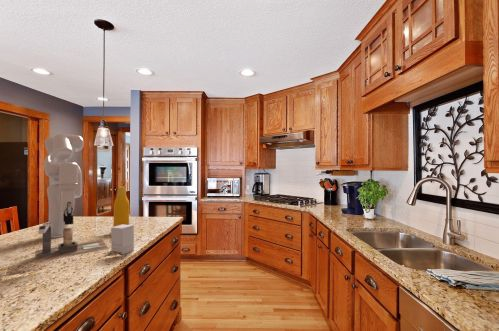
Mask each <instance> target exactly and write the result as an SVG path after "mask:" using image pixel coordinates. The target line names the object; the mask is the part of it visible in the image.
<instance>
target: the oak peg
mask: <svg viewBox="0 0 499 331" xmlns="http://www.w3.org/2000/svg"><path fill="white" fill-rule="evenodd" d="M73 230H74V228H73V227H72V226H68V227H66V228H63V237H62V239H63V240H62V241H63V242H62V243H63V246H69V245H72V242H73V233H74V232H73Z"/></svg>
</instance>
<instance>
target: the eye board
mask: <svg viewBox="0 0 499 331" xmlns="http://www.w3.org/2000/svg"><path fill="white" fill-rule="evenodd" d="M41 243H42V249H38V250H35V255H34V263H39V262H45V261H52V260H56V259H62V258H66V257H67V258H68V257H72V256H78V255H83V254H89V253H94V252H99V251H105V250H109V249H110V248H109V247H108V245H107V244H106V243H105V242H104V240H103V239H98V240H91V241H85V242H79V243H78V242H77V241H76V240H74V241H72V245H69V246H63V242H62V243H59V244H57V246H55V247H54V246H53V247H52V238H51V227H49V228H48V229H47V231H46V232H45V233H43V234H42V242H41Z"/></svg>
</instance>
